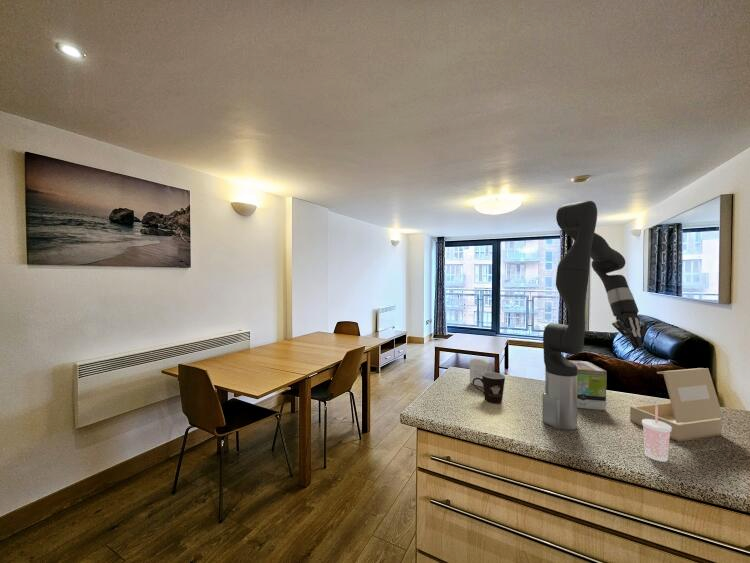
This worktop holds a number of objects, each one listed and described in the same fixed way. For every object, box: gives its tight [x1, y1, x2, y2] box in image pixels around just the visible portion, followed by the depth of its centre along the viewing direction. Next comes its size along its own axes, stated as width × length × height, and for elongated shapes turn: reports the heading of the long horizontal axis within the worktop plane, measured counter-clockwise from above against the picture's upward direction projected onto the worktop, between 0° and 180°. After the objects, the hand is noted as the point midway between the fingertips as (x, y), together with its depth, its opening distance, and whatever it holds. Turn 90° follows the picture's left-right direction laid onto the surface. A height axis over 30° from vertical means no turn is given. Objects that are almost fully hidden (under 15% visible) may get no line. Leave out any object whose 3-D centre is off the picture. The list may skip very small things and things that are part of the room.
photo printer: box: [469, 357, 493, 388], centre depth 143 cm, size 10×4×12 cm, turn 36°
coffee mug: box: [471, 371, 506, 405], centre depth 126 cm, size 12×9×10 cm
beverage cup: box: [642, 405, 672, 462], centre depth 86 cm, size 6×6×14 cm
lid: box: [656, 367, 724, 423], centre depth 99 cm, size 18×15×2 cm
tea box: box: [567, 359, 608, 411], centre depth 124 cm, size 15×10×15 cm, turn 168°
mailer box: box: [629, 401, 723, 443], centre depth 103 cm, size 18×14×5 cm
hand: (638, 348), depth 109 cm, fingers closed
